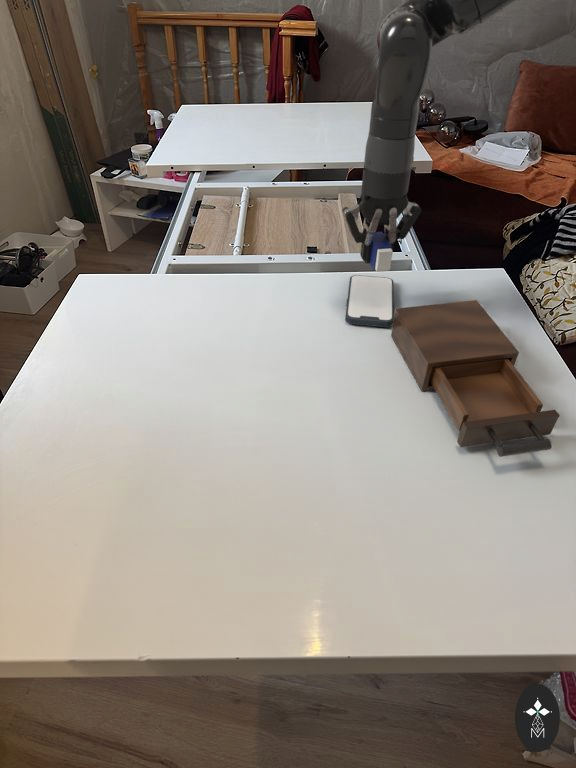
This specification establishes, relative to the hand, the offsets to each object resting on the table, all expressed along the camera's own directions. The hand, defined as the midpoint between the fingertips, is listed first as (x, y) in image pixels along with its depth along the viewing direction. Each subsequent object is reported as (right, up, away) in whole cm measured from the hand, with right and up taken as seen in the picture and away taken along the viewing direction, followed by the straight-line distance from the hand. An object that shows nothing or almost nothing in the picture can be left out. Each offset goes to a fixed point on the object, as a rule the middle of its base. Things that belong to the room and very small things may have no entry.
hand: (375, 260), depth 96 cm
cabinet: (+11, -18, -6) cm, 22 cm away
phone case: (0, -7, +6) cm, 9 cm away
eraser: (0, 0, 0) cm, 1 cm away
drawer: (+14, -27, -18) cm, 35 cm away
